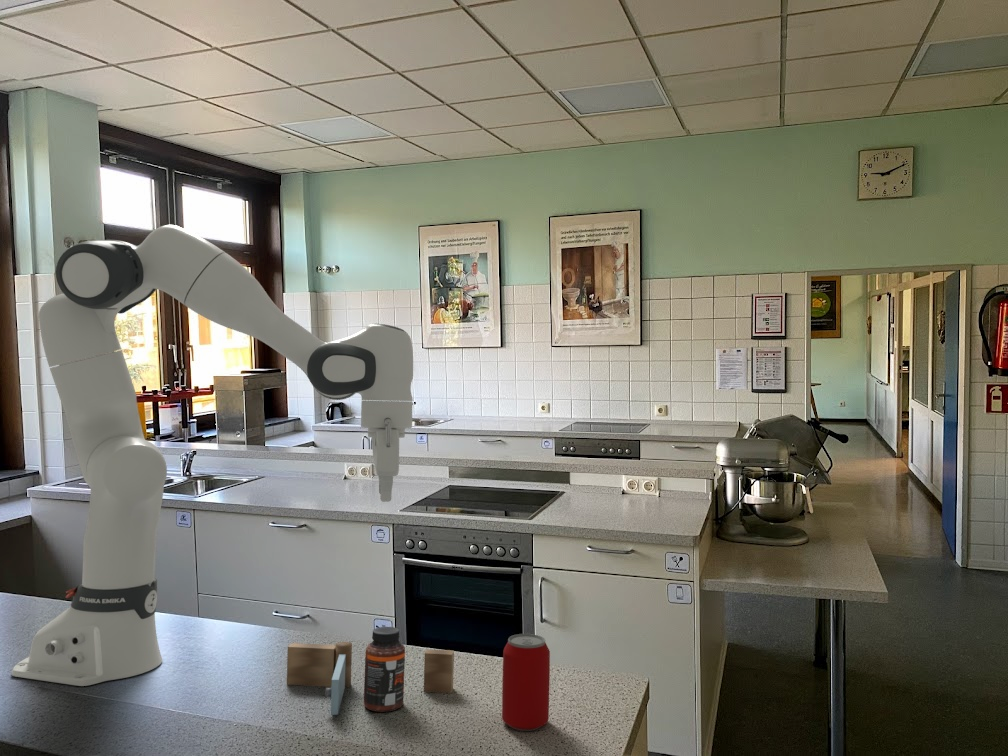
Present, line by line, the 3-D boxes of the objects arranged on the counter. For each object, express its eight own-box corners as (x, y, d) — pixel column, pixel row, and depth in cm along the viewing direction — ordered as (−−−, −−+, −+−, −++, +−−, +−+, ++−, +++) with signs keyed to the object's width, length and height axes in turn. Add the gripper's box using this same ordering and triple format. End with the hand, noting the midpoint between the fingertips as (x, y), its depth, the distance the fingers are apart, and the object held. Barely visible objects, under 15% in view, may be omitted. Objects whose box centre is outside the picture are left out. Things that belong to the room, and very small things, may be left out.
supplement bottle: (401, 713, 113) (403, 636, 114) (360, 713, 113) (363, 635, 113) (405, 698, 119) (407, 624, 120) (366, 697, 119) (368, 624, 119)
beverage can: (546, 714, 114) (547, 632, 115) (550, 733, 107) (552, 647, 108) (500, 713, 114) (502, 632, 114) (502, 733, 107) (504, 646, 108)
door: (332, 686, 122) (332, 654, 122) (344, 686, 122) (345, 654, 123) (323, 715, 111) (324, 679, 111) (337, 714, 111) (338, 679, 111)
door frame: (285, 685, 123) (287, 644, 124) (291, 679, 126) (292, 639, 126) (451, 693, 121) (451, 652, 122) (453, 687, 124) (454, 646, 124)
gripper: (408, 419, 124) (406, 505, 124) (401, 416, 144) (400, 490, 144) (369, 419, 123) (366, 505, 123) (367, 416, 143) (365, 490, 143)
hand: (384, 497), depth 134 cm, fingers open, 8 cm apart
